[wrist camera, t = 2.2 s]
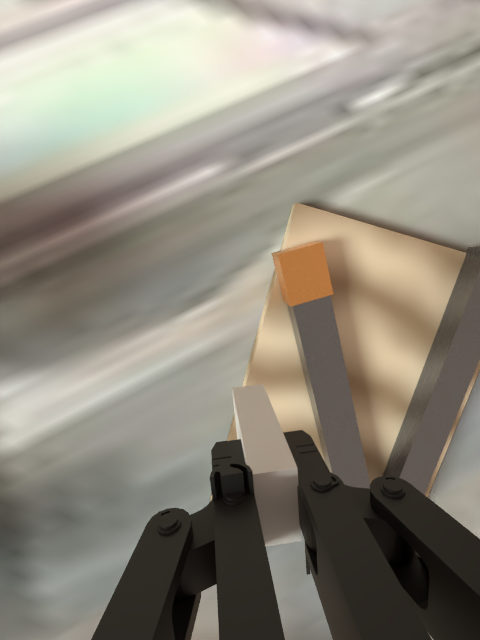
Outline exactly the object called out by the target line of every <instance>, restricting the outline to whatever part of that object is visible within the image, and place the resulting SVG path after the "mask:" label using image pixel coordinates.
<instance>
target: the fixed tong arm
mask: <svg viewBox="0 0 480 640" xmlns="http://www.w3.org/2000/svg"><path fill="white" fill-rule="evenodd" d="M479 360H480V248H476V247H469V248H468V251H467V253H466V256H465V259H464V261H463V264H462V267H461V269H460V272H459V274H458V277H457V280H456V282H455V285H454V288H453V290H452V293H451V296H450V298H449V301H448V304H447V306H446V309H445V312H444V314H443V317H442V319H441V322H440V325H439V327H438V330H437V333H436V335H435V338H434V341H433V343H432V346H431V349H430V351H429V354H428V356H427V359H426V362H425V364H424V367H423V370H422V372H421V375H420V378H419V380H418V383H417V386H416V388H415V391H414V394H413V396H412V399H411V401H410V404H409V407H408V409H407V412H406V415H405V417H404V420H403V423H402V425H401V428H400V431H399V433H398V436H397V438H396V441H395V444H394V446H393V449H392V452H391V454H390V457H389V460H388V462H387V465H386V468H385V470H384V473H383V476H395V477H398V478H401V479H403V480H405V481H407V482H408V483H410V484H411V485H413V486H414V487H415V488H416V489H418V490H419V491H420V492H421V493H423V494H424V495H425V493H426V490H427V488H428V485H429V483H430V480H431V478H432V475H433V473H434V471H435V468H436V466H437V463H438V461H439V458H440V456H441V453H442V451H443V448H444V446H445V444H446V441H447V439H448V436H449V434H450V431H451V429H452V426H453V424H454V421H455V419H456V417H457V414H458V412H459V409H460V407H461V404H462V402H463V399H464V397H465V394H466V392H467V389H468V387H469V385H470V382H471V380H472V377H473V375H474V372H475V370H476V367H477V365H478V362H479Z"/></svg>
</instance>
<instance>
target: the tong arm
mask: <svg viewBox="0 0 480 640" xmlns="http://www.w3.org/2000/svg"><path fill="white" fill-rule="evenodd" d="M272 256H273V260H274V264H275V268H276V272H277V276H278V281H279V285H280V289H281V293H282V297H283V301H284V302H285V303H286V304H287V306H288V311H289V315H290V319H291V323H292V327H293V331H294V336H295V340H296V344H297V348H298V352H299V356H300V360H301V365H302V369H303V373H304V377H305V381H306V385H307V390H308V394H309V398H310V402H311V406H312V410H313V414H314V419H315V423H316V427H317V431H318V435H319V439H320V444H321V448H322V452H323V456H324V460H325V463H326V465H327V467H328V469H329V471H330V472H331V473H333V474H335V475H337V476H338V477H339V478H340V479H341V480H342V481H343V483H344V485H347V486H351V487H357V488H368V489H370V481H369V476H368V471H367V467H366V462H365V457H364V452H363V447H362V443H361V438H360V433H359V428H358V424H357V419H356V414H355V409H354V405H353V400H352V395H351V390H350V385H349V381H348V376H347V371H346V366H345V362H344V357H343V352H342V347H341V342H340V338H339V333H338V328H337V323H336V319H335V314H334V309H333V304H332V300H331V295H333V290H332V285H331V280H330V275H329V270H328V265H327V261H326V256H325V251H324V246H323V242H309V243H306V244H302V245H299V246H295V247H292V248H288V249H284V250H281V251H277V252H274V253H272Z"/></svg>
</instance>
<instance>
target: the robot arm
mask: <svg viewBox="0 0 480 640" xmlns="http://www.w3.org/2000/svg"><path fill="white" fill-rule="evenodd" d="M232 392H233V402H234V412H235V422H236V432H237V440H230V441H222V442H216V444H215V445H214V447H213V449H212V450H211V452H212V472H211V475H210V482H211V490H212V500H211V502H210V503H209V504H208V505H207V506H206V507H205V508H203V509H202V510H200V511H198V512H196V513H194V514H191V515H189V513H188V512H186V511H185V510H183V509H179V508H170V509H165V510H163V511H160V512H158V513H157V514H156V515H154V516H153V517H152V518H151V519H150V521H149V522H148V523H147V525H146V527H145V529H144V531H143V533H142V536H141V538H140V540H139V542H138V544H137V546H136V548H135V550H134V552H133V554H132V556H131V558H130V560H129V562H128V565H127V567H126V569H125V571H124V573H123V575H122V577H121V579H120V581H119V583H118V585H117V587H116V589H115V591H114V594H113V596H112V598H111V600H110V602H109V604H108V606H107V608H106V610H105V612H104V614H103V616H102V618H101V620H100V623H99V625H98V627H97V629H96V631H95V633H94V635H93V637H92V639H91V640H191V636H192V632H193V628H194V624H195V619H196V615H197V611H198V607H199V603H200V599H201V591H203V590H205V589H207V588H209V587H211V586H213V585H215V584H217V599H218V620H219V640H285V638H284V633H283V628H282V624H281V619H280V614H279V609H278V605H277V600H276V595H275V590H274V585H273V581H272V576H271V571H270V566H269V561H268V557H267V552H266V546H273V545H279V544H285V543H292V542H298V541H302V538H301V530H302V533H303V536H304V539H305V553H306V570H307V574H310V569H311V572H312V575H313V579H314V582H315V585H316V588H317V591H318V594H319V597H320V600H321V603H322V607H323V610H324V613H325V616H326V619H327V622H328V625H329V628H330V631H331V635H332V638H333V640H432V639H431V638H430V636H429V634H430V635H431V637H432V638H433V639H434V640H480V539H479V538H478V537H476V536H475V535H474V534H473V533H471V532H470V531H469V530H468V529H466V528H465V527H464V526H463V525H461V524H460V523H459V522H458V521H456V520H455V519H454V518H453V517H451V516H450V515H449V514H448V513H446V512H445V511H444V510H443V509H441V508H440V507H439V506H438V505H436V504H435V503H434V502H433V501H431V500H430V499H429V498H428V497H426V496H425V495H424V494H423V493H421V492H420V491H419V490H418V489H416V488H415V487H414V486H413V485H411V484H410V483H408V482H407V481H405V480H403V479H401V478H398V477H395V476H380V477H377V478H375V479H374V480H372V482H371V484H370V489H368V488H357V487H351V486H347V485H344V483H343V481H342V480H341V479H340V478H339V477H338V476H337V475H335V474H333V473H331V472H330V471H329V469H328V467H327V465H326V463H325V461H324V460H323V458H322V456H321V454H320V452H319V451H318V448H317V447H316V445H315V443H314V441H313V439H312V437H311V436H310V435H309V434H307V433H306V432H304V431H303V430H297V431H290V432H283V431H282V429H281V427H280V424H279V422H278V419H277V417H276V414H275V412H274V409H273V407H272V405H271V402H270V400H269V397H268V395H267V392H266V390H265V387H264V385H263V384H260V385H251V386H243V387H235V388H232ZM428 633H429V634H428Z"/></svg>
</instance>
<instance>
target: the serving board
mask: <svg viewBox="0 0 480 640" xmlns="http://www.w3.org/2000/svg"><path fill="white" fill-rule="evenodd" d="M309 242H323V246H324V251H325V256H326V261H327V265H328V270H329V275H330V280H331V285H332V290H333V295H331V300H332V304H333V309H334V314H335V319H336V323H337V328H338V333H339V338H340V342H341V347H342V352H343V357H344V362H345V366H346V371H347V376H348V381H349V385H350V390H351V395H352V400H353V405H354V409H355V414H356V419H357V424H358V428H359V433H360V438H361V443H362V447H363V452H364V457H365V462H366V467H367V471H368V476H369V481H370V484H371V482H372V480H374V479H375V478H377V477H380V476H383V473H384V470H385V468H386V465H387V462H388V460H389V457H390V454H391V452H392V449H393V446H394V444H395V441H396V438H397V436H398V433H399V431H400V428H401V425H402V423H403V420H404V417H405V415H406V412H407V409H408V407H409V404H410V401H411V399H412V396H413V394H414V391H415V388H416V386H417V383H418V380H419V378H420V375H421V372H422V370H423V367H424V364H425V362H426V359H427V356H428V354H429V351H430V349H431V346H432V343H433V341H434V338H435V335H436V333H437V330H438V327H439V325H440V322H441V319H442V317H443V314H444V312H445V309H446V306H447V304H448V301H449V298H450V296H451V293H452V290H453V288H454V285H455V282H456V280H457V277H458V274H459V272H460V269H461V267H462V264H463V261H464V259H465V256H466V253H465V252H461V251H458V250H455V249H451V248H448V247H445V246H441V245H438V244H434V243H431V242H428V241H424V240H421V239H418V238H414V237H411V236H408V235H404V234H401V233H397V232H394V231H391V230H387V229H384V228H381V227H377V226H374V225H370V224H367V223H364V222H360V221H357V220H354V219H350V218H347V217H344V216H340V215H337V214H333V213H330V212H327V211H323V210H320V209H317V208H313V207H310V206H307V205H303V204H300V203H296V204H293V207H292V211H291V214H290V218H289V221H288V225H287V229H286V232H285V236H284V239H283V243H282V246H281V250H284V249H288V248H292V247H295V246H299V245H302V244H306V243H309ZM281 250H280V251H281ZM479 370H480V360H479V362H478V365H477V367H476V370H475V372H474V375H473V377H472V380H471V382H470V385H469V387H468V389H467V392H466V394H465V397H464V399H463V402H462V404H461V407H460V409H459V412H458V414H457V417H456V419H455V421H454V424H453V426H452V429H451V431H450V434H449V436H448V439H447V441H446V444H445V446H444V448H443V451H442V453H441V456H440V458H439V461H438V463H437V466H436V468H435V471H434V473H433V475H432V478H431V480H430V483H429V485H428V488H427V490H426V493H425V496H426V497H428V495H429V492H430V490H431V488H432V485H433V483H434V480H435V478H436V475H437V473H438V470H439V468H440V466H441V463H442V461H443V458H444V456H445V453H446V451H447V448H448V446H449V444H450V441H451V439H452V436H453V434H454V431H455V429H456V426H457V424H458V422H459V419H460V417H461V414H462V412H463V409H464V407H465V404H466V402H467V400H468V397H469V395H470V392H471V390H472V387H473V385H474V383H475V380H476V378H477V375H478V373H479ZM260 384H263V385H264V387H265V390H266V392H267V395H268V397H269V400H270V402H271V405H272V407H273V409H274V412H275V414H276V417H277V419H278V422H279V424H280V427H281V429H282V431H283V432H290V431H297V430H303V431H304V432H306V433H307V434H309V435H310V436H311V437H312V439H313V441H314V443H315V445H316V447H317V448H318V451H319V452H320V454H321V456H322V458H323V460H324V456H323V452H322V448H321V444H320V439H319V435H318V431H317V427H316V423H315V419H314V414H313V410H312V406H311V402H310V398H309V394H308V390H307V385H306V381H305V377H304V373H303V369H302V365H301V360H300V356H299V352H298V348H297V344H296V340H295V336H294V331H293V327H292V323H291V319H290V315H289V311H288V306H287V304H286V303H285V302H284V301H283V297H282V293H281V289H280V285H279V281H278V276H277V272H276V268H275V271H274V275H273V278H272V282H271V285H270V289H269V292H268V296H267V299H266V303H265V307H264V310H263V314H262V317H261V321H260V324H259V328H258V331H257V335H256V338H255V342H254V346H253V349H252V353H251V356H250V360H249V363H248V367H247V370H246V374H245V378H244V381H243V385H242V387H243V386H251V385H260ZM230 440H237V432H236V422H235V413H234V417H233V420H232V424H231V427H230V431H229V434H228V438H227V441H230ZM324 461H325V460H324ZM211 500H212V495H211V498H210V502H211Z"/></svg>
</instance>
